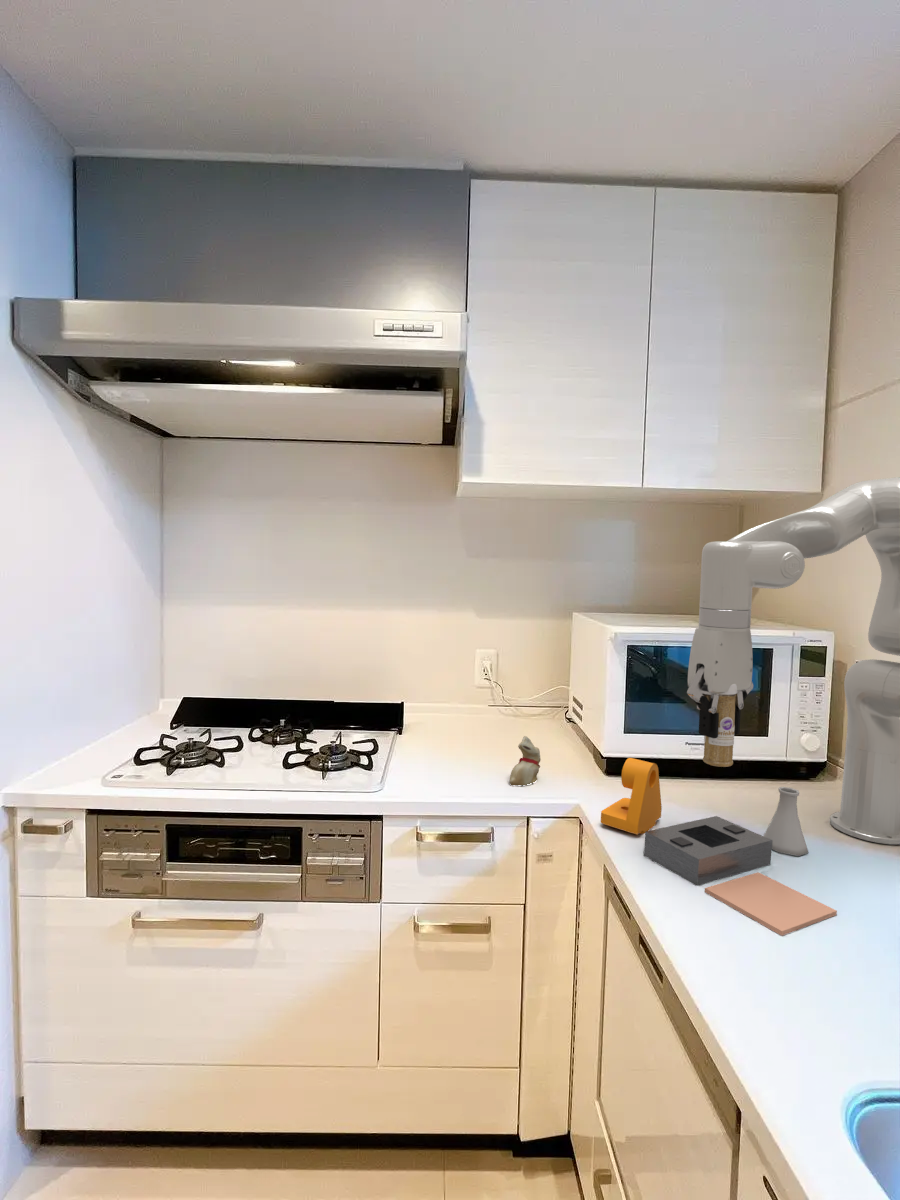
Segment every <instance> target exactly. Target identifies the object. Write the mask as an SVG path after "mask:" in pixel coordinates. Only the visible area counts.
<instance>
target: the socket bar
mask: <svg viewBox="0 0 900 1200" xmlns="http://www.w3.org/2000/svg"><path fill="white" fill-rule="evenodd" d="M643 845H644V846H643V857H645V858H647V859H649V860H650V861H652V862H654V863H656V864H658V865H659V866H661V867H663V868H665V869H667V870H669V871H670V872H672V873H673V874H676V875H678V876H679V877H681V878H682V879H684V880H686V881H688V882H690V883H691V884H693V885H695V886H702V885H705V883H706V884H709V883H711V882H716V881H719V880H722V879H725V878H728V877H729V878H730V877H733V876H736V875H739V874H742V873H746V872H749V871H753V870H757V869H760V868H764V867H767V866H770V865H771V864H772V863H771V862H772V840H771V839H769V838H766V837H764V835H762V834H760V833H758V832H755V831H753V830H750V829H749V828H745V827H743V826H741V825H738V824H737V823H734V822H732V821H730V820H727V819H724V818H722V817H719V816H718V815H715V816H710V817H705V818H701V819H697V820H696V819H695V820H692V821H687V822H682V823H677V824H673V825H669V826H664V827H661V828H656V829H650V830H648V831H645V833H644V843H643Z"/></svg>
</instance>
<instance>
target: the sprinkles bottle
mask: <svg viewBox="0 0 900 1200" xmlns="http://www.w3.org/2000/svg"><path fill="white" fill-rule="evenodd" d="M707 689H708V687H707ZM707 691H708V690H707ZM735 694H737V686H736V684H732V685H731V686H730V688H729V690H728V692H725V693H720V694H719V699H718V704H717V709H716V713H719V724H718V737H717V738H710V737H707V736H704V735H703V738H704V739H703V742H704V745H703V746H704V748H703V758H702V761H703V762H704V763H705V764H707V765H710V766H713V767H721V768H722V767H723V768H726V767H731V766H733V765H734V761H733V757H734V756H733V755H734V744H735V734H734V730H735V725H734V724H735V723H734V722H735V697H736V695H735ZM710 698H711V696H710V695H707V699H708V700H709V701H710Z"/></svg>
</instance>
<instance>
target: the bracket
mask: <svg viewBox="0 0 900 1200" xmlns="http://www.w3.org/2000/svg"><path fill="white" fill-rule="evenodd" d="M659 773H660V771H659V767H658V764H657V763H655V762H649V761H645V760H641V759H637V758H634V757H627V759H626V760H625V762H624V764H623V766H622V769H621V785H622V787H624V788H626V789H630V790H631V795H630V798H629V797H622V798H621V799H619V800H618V801H616V802H614V803H611V804H610V805H609V806H607V807H605V808H604V809H602V810H601V811H600V823H601V824H603V825H605V826H608V827H611V828H615V829H618V830H621V831H625V832H628V833H631V834H634V835H637V836H638V835H645V831H650V830H652V828H654V827H655V826H656V824H657V823H656V822H657V821H658V820H659V819H661V818H662V808H663V806H662V797H661V785H660V776H659V775H660V774H659Z"/></svg>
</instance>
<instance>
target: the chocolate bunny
mask: <svg viewBox="0 0 900 1200" xmlns="http://www.w3.org/2000/svg"><path fill="white" fill-rule="evenodd" d="M517 747H518V749H519V750H520V751H521V754H522V757H520V758H519V759H518V761H519V762H518V763H517V764H515V765H514V767H513V768H512V770H511V772H510V775H509V785H510V784H511V785H527V784H530V783H533V782H535V781H536V780H537V781H538V774H539V771H540V768H541V764H540V763H541V760H542V759H541V752H540V748H539V747H536V746H535V745H534V743H533V742H532V741H531V739H530V738H529V737H528V736H526V735H523V738H522V739H521V741H520V742H519V744H518V746H517ZM511 785H510V786H511Z"/></svg>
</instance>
